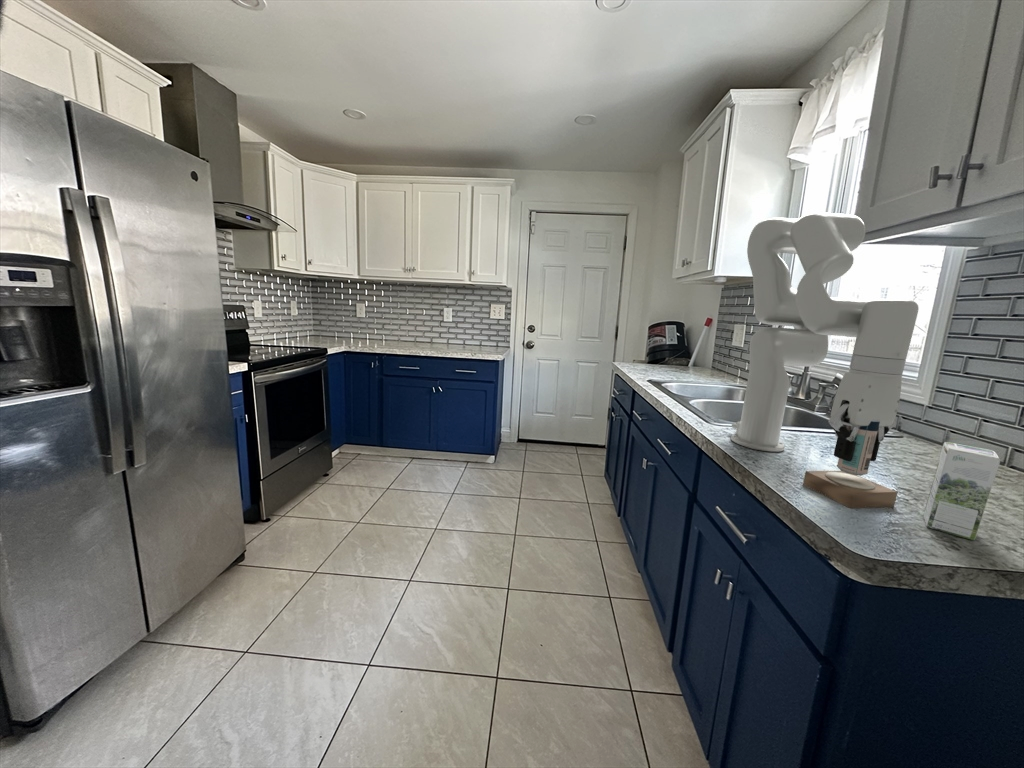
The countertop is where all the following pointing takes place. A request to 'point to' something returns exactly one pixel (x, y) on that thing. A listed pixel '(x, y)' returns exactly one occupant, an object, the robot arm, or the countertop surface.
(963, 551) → the countertop surface
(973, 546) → the countertop surface
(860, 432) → the beer can
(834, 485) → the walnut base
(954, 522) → the syrup box
